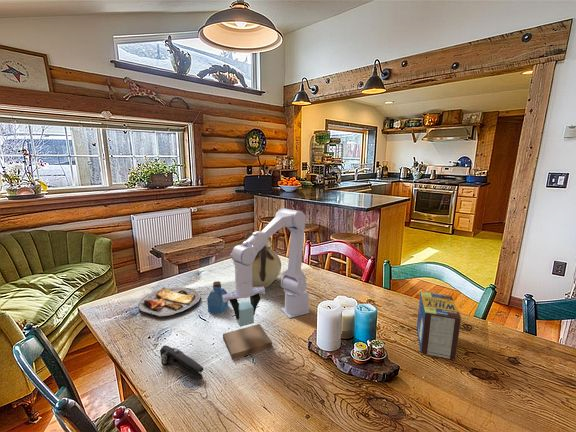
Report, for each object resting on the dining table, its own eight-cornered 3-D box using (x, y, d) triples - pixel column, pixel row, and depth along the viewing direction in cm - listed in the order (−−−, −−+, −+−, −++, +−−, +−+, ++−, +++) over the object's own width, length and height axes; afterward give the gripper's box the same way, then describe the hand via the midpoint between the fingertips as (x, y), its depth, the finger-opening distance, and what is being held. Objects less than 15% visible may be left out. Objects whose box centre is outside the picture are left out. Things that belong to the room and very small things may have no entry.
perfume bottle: (221, 313, 119) (220, 286, 116) (208, 312, 120) (206, 285, 118) (227, 306, 125) (226, 280, 122) (214, 304, 126) (213, 279, 124)
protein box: (446, 333, 106) (451, 295, 103) (455, 361, 92) (462, 317, 88) (416, 328, 109) (420, 290, 106) (420, 354, 95) (424, 311, 92)
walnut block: (259, 329, 109) (259, 323, 108) (272, 348, 98) (272, 341, 98) (223, 340, 103) (222, 333, 102) (232, 361, 92) (231, 354, 92)
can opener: (154, 364, 91) (153, 348, 89) (174, 351, 96) (172, 336, 95) (192, 388, 81) (190, 371, 80) (210, 372, 87) (209, 356, 86)
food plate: (126, 310, 121) (126, 302, 120) (168, 287, 142) (167, 281, 142) (172, 324, 112) (172, 316, 111) (210, 298, 133) (209, 291, 132)
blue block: (249, 316, 104) (248, 301, 103) (253, 323, 100) (253, 307, 99) (235, 319, 102) (235, 304, 101) (239, 326, 98) (239, 310, 96)
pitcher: (257, 270, 162) (256, 228, 157) (291, 281, 149) (292, 235, 143) (228, 285, 145) (225, 238, 139) (263, 299, 131) (262, 247, 125)
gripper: (259, 271, 104) (260, 306, 107) (219, 279, 98) (221, 315, 100) (267, 279, 98) (267, 315, 100) (224, 287, 91) (226, 325, 94)
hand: (245, 316), depth 100 cm, fingers closed on blue block, 5 cm apart
